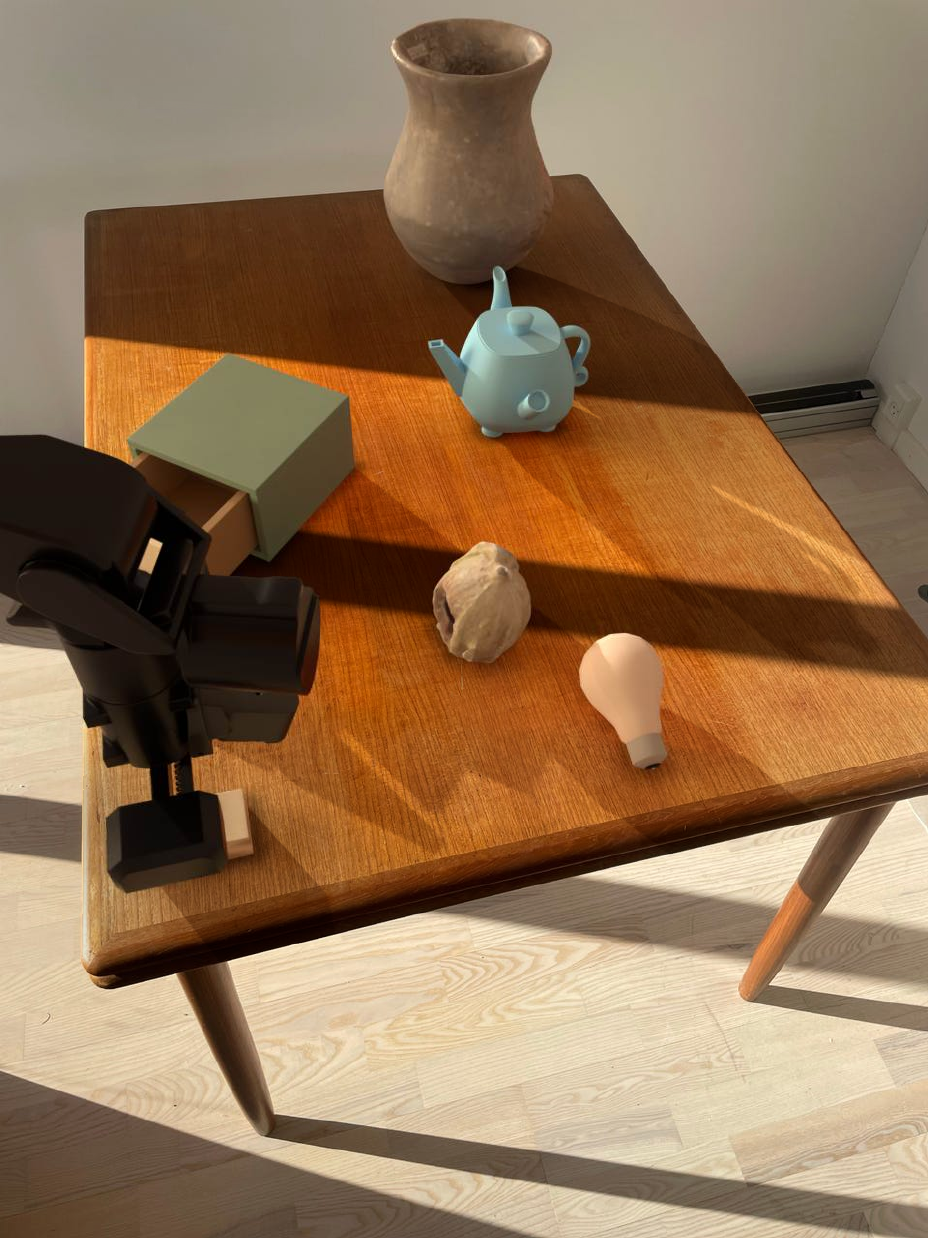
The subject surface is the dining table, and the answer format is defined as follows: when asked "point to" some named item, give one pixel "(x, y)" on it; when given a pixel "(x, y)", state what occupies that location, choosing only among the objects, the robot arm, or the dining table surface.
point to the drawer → (203, 512)
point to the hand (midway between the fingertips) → (186, 804)
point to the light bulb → (627, 693)
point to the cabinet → (257, 441)
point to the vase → (469, 148)
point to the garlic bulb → (482, 604)
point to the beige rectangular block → (236, 823)
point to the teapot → (515, 366)
